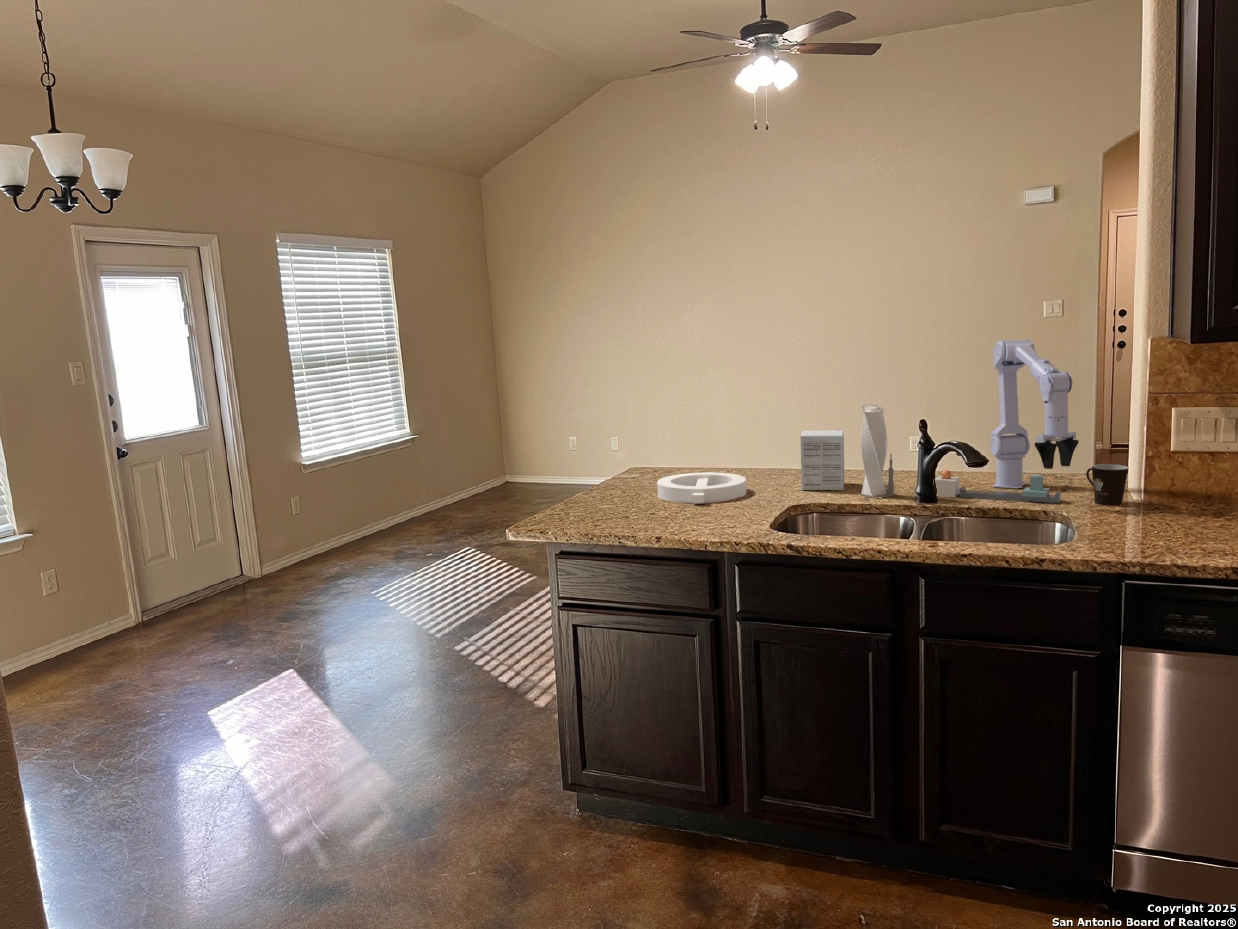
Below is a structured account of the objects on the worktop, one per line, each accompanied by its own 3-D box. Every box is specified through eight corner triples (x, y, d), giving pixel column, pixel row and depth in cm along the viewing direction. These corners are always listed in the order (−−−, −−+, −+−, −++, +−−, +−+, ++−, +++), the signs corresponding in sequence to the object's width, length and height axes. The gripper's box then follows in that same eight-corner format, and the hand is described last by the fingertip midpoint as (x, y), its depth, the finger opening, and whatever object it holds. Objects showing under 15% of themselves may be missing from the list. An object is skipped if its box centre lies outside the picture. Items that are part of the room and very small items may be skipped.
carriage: (1026, 492, 248) (1026, 473, 247) (1049, 493, 244) (1049, 474, 244) (1022, 496, 243) (1023, 477, 242) (1046, 497, 239) (1047, 478, 239)
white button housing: (938, 492, 261) (938, 476, 260) (959, 493, 258) (959, 477, 257) (933, 496, 256) (933, 479, 255) (954, 497, 253) (955, 480, 252)
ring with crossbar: (697, 508, 258) (697, 492, 257) (640, 496, 281) (639, 481, 280) (764, 493, 274) (764, 478, 274) (705, 483, 297) (704, 469, 296)
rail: (962, 494, 256) (962, 486, 256) (1060, 500, 242) (1060, 492, 242) (959, 497, 253) (959, 488, 253) (1058, 503, 239) (1059, 494, 239)
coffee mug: (1131, 506, 231) (1133, 469, 230) (1096, 506, 233) (1097, 470, 232) (1116, 497, 243) (1117, 462, 241) (1082, 497, 244) (1083, 462, 243)
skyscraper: (872, 499, 256) (872, 404, 251) (854, 495, 263) (854, 402, 259) (895, 495, 259) (895, 402, 255) (877, 491, 267) (876, 400, 262)
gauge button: (943, 476, 258) (943, 470, 257) (951, 477, 256) (951, 470, 256) (941, 478, 256) (941, 471, 255) (950, 478, 254) (950, 472, 254)
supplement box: (803, 483, 286) (802, 430, 283) (844, 483, 283) (844, 429, 280) (800, 491, 274) (799, 435, 271) (843, 491, 270) (843, 435, 267)
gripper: (1053, 418, 228) (1054, 470, 230) (1086, 415, 236) (1087, 465, 237) (1029, 419, 235) (1029, 469, 236) (1061, 416, 242) (1062, 464, 243)
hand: (1056, 467), depth 237 cm, fingers open, 7 cm apart
